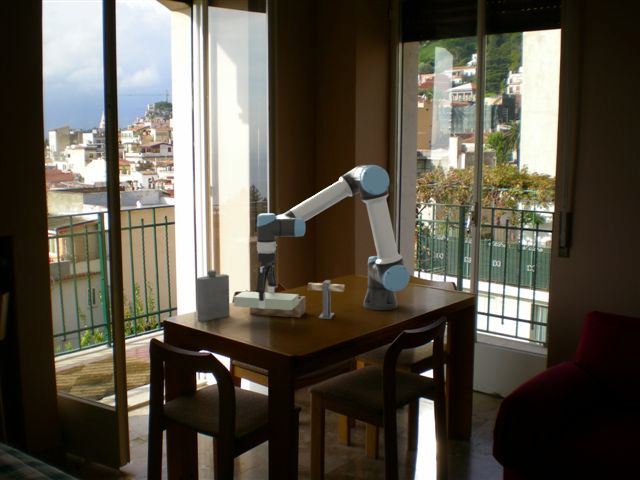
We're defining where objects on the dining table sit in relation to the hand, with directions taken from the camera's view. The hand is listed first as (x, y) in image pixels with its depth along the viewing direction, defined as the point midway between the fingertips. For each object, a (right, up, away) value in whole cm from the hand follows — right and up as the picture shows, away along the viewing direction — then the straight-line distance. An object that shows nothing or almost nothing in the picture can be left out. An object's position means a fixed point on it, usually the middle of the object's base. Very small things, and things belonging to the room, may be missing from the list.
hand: (266, 305), depth 280 cm
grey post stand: (+25, -6, +10) cm, 27 cm away
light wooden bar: (+24, +5, +9) cm, 26 cm away
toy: (-5, -3, +32) cm, 32 cm away
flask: (-23, -6, +8) cm, 25 cm away
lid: (0, 0, 0) cm, 0 cm away
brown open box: (+4, -5, +15) cm, 17 cm away
